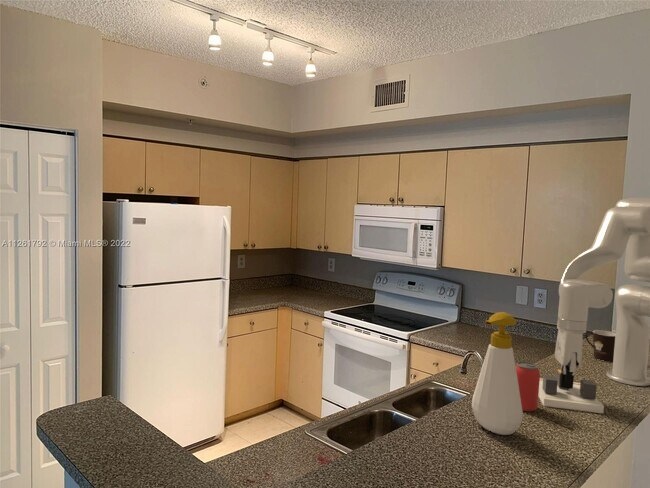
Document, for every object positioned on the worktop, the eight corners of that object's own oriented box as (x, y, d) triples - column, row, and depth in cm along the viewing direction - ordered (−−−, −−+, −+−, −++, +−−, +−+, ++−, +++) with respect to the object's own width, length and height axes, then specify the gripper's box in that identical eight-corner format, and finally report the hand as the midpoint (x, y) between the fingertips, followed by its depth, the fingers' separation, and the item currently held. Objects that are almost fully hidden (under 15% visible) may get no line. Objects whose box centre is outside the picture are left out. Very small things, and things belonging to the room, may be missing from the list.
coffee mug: (621, 363, 176) (624, 336, 175) (598, 362, 176) (600, 335, 175) (604, 353, 187) (606, 328, 187) (582, 352, 188) (584, 327, 187)
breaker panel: (532, 383, 150) (533, 364, 150) (584, 389, 147) (585, 369, 146) (543, 405, 133) (545, 383, 132) (603, 413, 129) (605, 390, 129)
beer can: (539, 413, 127) (543, 369, 126) (513, 410, 129) (517, 367, 128) (534, 404, 134) (537, 362, 133) (509, 401, 135) (512, 359, 134)
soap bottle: (457, 425, 118) (464, 309, 116) (482, 415, 124) (489, 306, 122) (504, 447, 108) (513, 320, 106) (528, 435, 114) (537, 316, 112)
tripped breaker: (555, 382, 145) (556, 369, 145) (566, 384, 144) (567, 370, 144) (558, 387, 141) (560, 373, 141) (570, 388, 140) (571, 374, 140)
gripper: (551, 318, 146) (546, 377, 147) (564, 329, 131) (558, 394, 132) (578, 321, 144) (572, 380, 145) (594, 332, 129) (588, 398, 130)
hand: (566, 387), depth 139 cm, fingers closed
